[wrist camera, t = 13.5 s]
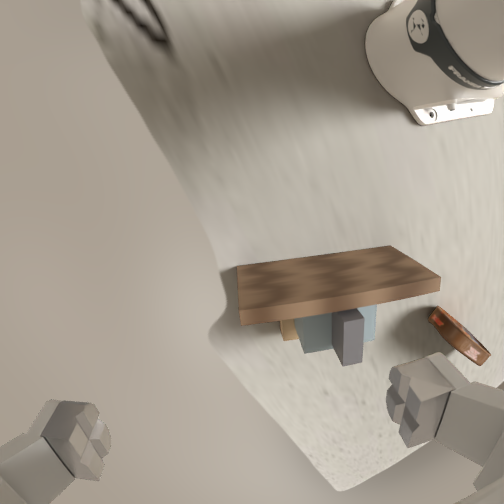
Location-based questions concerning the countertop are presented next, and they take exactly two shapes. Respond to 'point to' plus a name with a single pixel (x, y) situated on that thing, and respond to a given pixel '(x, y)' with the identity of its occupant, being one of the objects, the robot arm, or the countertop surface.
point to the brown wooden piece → (328, 285)
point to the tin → (458, 336)
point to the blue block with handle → (338, 332)
